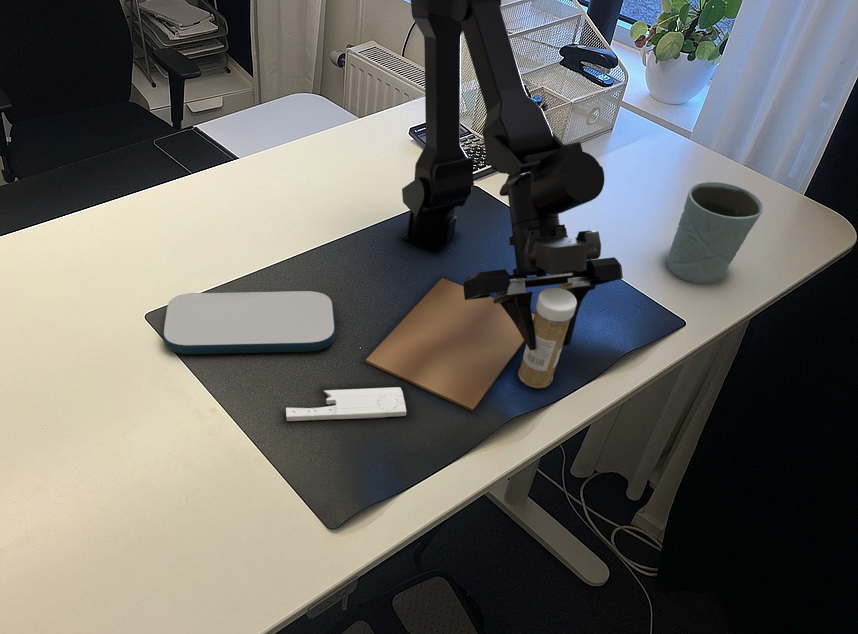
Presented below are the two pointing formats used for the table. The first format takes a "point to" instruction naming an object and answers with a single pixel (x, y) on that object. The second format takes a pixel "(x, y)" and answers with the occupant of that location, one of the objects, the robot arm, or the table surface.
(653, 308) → the table surface
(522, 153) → the robot arm
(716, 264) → the green ceramic cup
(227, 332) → the external hard drive
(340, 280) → the table surface
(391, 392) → the white plastic blade
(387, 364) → the cork placemat
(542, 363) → the sprinkles bottle
